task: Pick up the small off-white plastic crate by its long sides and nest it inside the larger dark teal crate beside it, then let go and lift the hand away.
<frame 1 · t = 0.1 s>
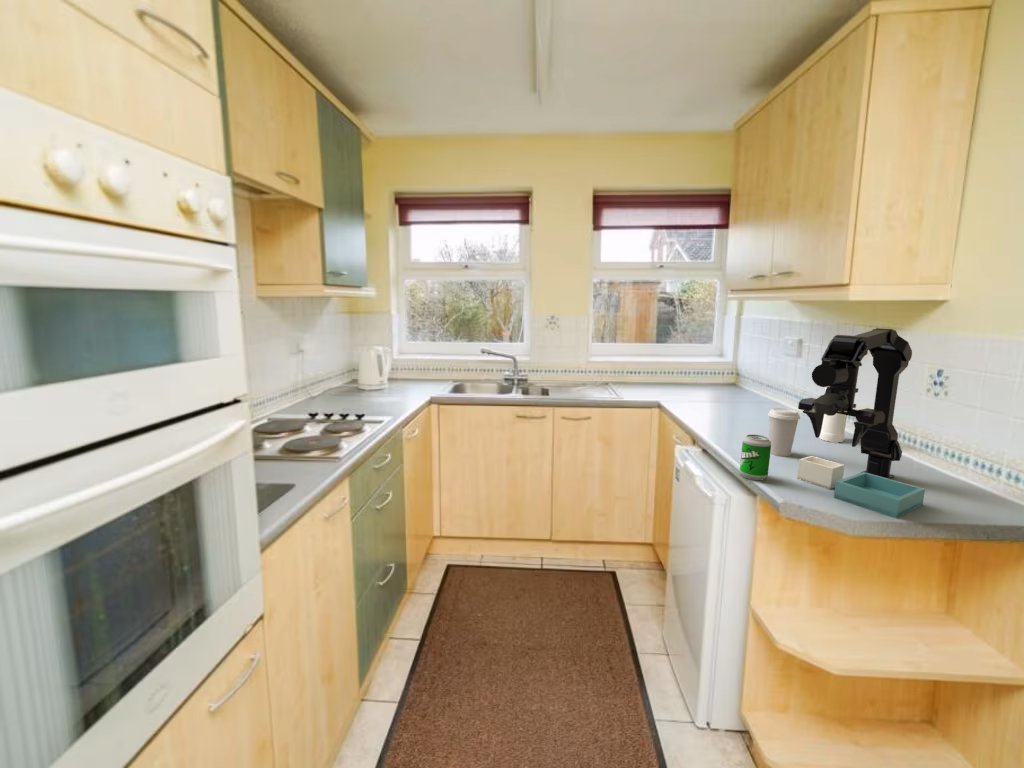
hand: (835, 441, 130), 14 cm above the worktop, tool pointing down, fingers open, 9 cm apart
soda can: (752, 477, 144), on the worktop
big crate: (877, 501, 127), on the worktop
bottle: (830, 440, 184), on the worktop
small crate: (819, 481, 141), on the worktop
coffee cup: (779, 453, 166), on the worktop
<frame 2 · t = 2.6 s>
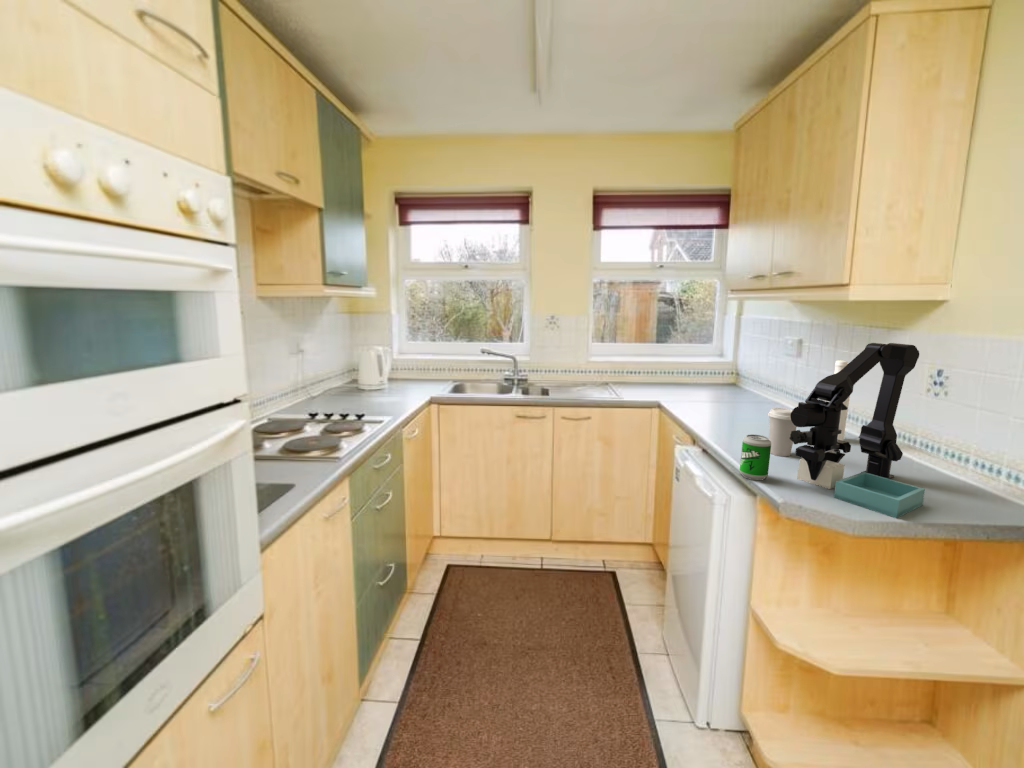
hand: (819, 477, 140), 1 cm above the worktop, tool pointing down, fingers closed on small crate, 6 cm apart
small crate: (819, 481, 141), on the worktop, touching gripper
everything else where it was.
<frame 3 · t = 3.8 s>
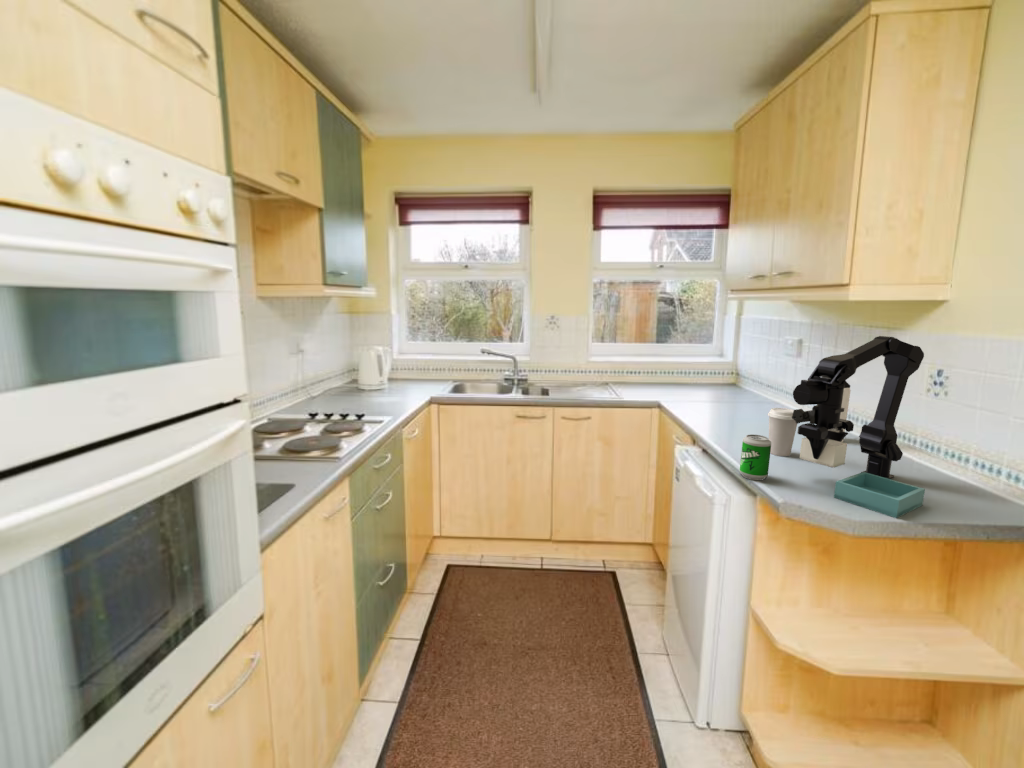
hand: (822, 456, 139), 7 cm above the worktop, tool pointing down, fingers closed on small crate, 6 cm apart
small crate: (821, 461, 139), point 6 cm above the worktop, touching gripper
everything else where it was.
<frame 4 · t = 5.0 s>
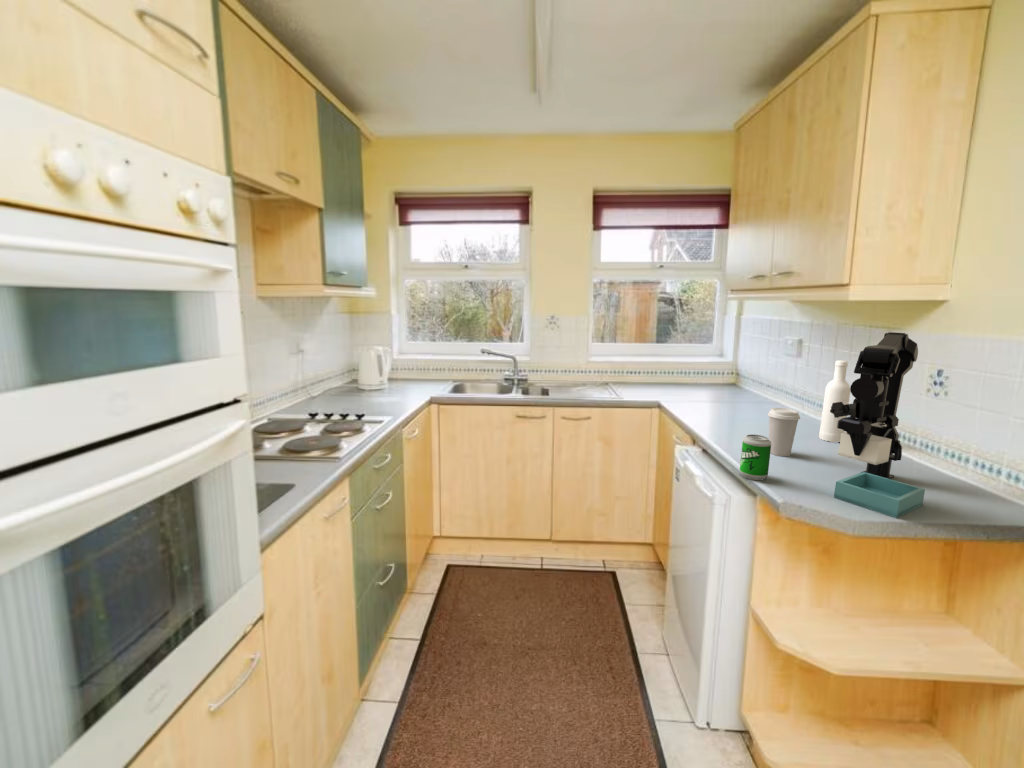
hand: (863, 453, 129), 12 cm above the worktop, tool pointing down, fingers closed on small crate, 6 cm apart
small crate: (862, 458, 130), point 10 cm above the worktop, touching gripper
everything else where it was.
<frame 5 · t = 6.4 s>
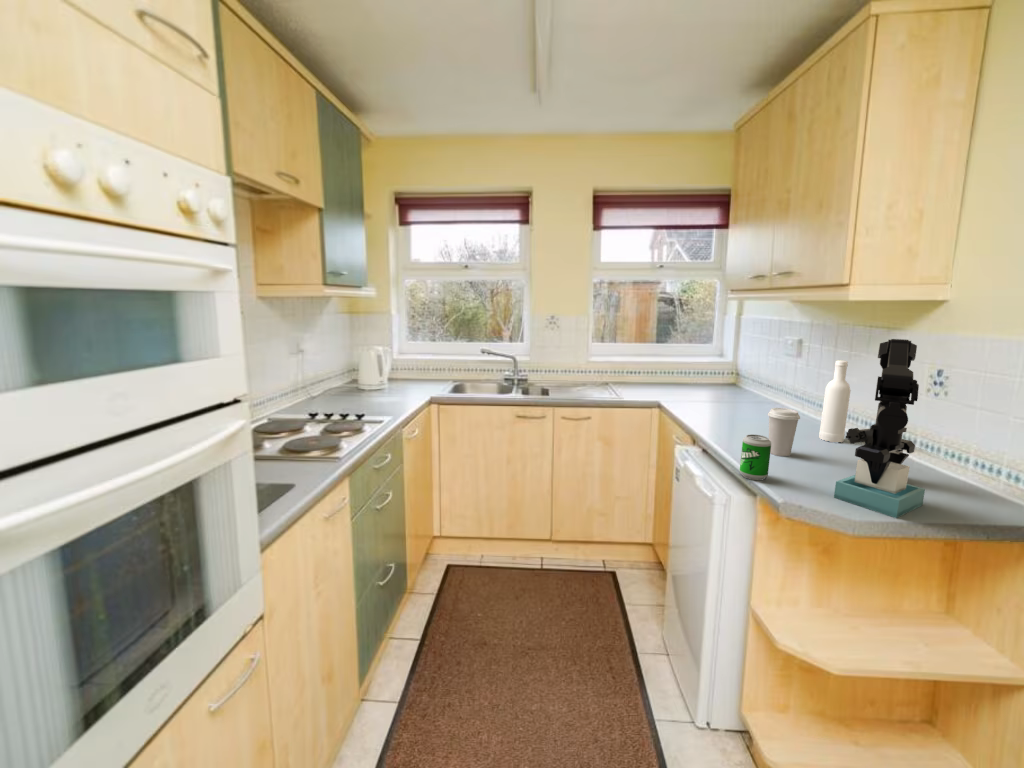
hand: (880, 480, 127), 6 cm above the worktop, tool pointing down, fingers closed on small crate, 6 cm apart
small crate: (879, 485, 127), point 4 cm above the worktop, touching gripper
everything else where it was.
when the fingers open (4 cm above the worktop, at t = 7.7 s): small crate drops 2 cm, resting on big crate.
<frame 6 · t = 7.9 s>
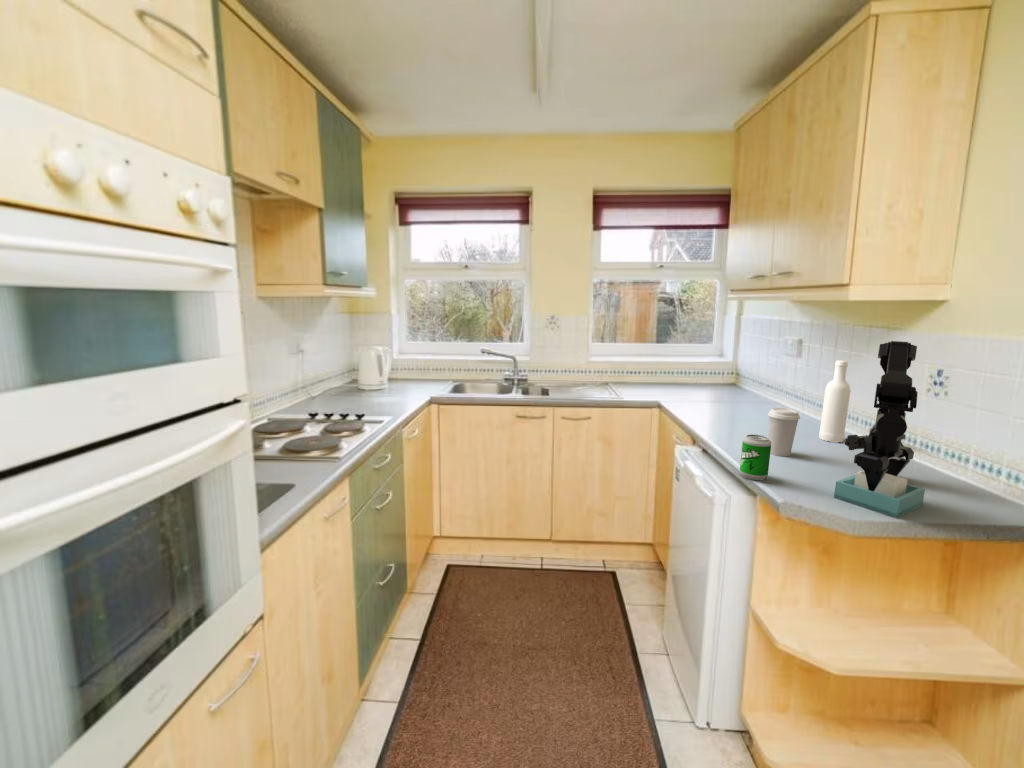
hand: (879, 487, 127), 4 cm above the worktop, tool pointing down, fingers open, 9 cm apart
small crate: (877, 497, 127), point 1 cm above the worktop, touching big crate
everything else where it was.
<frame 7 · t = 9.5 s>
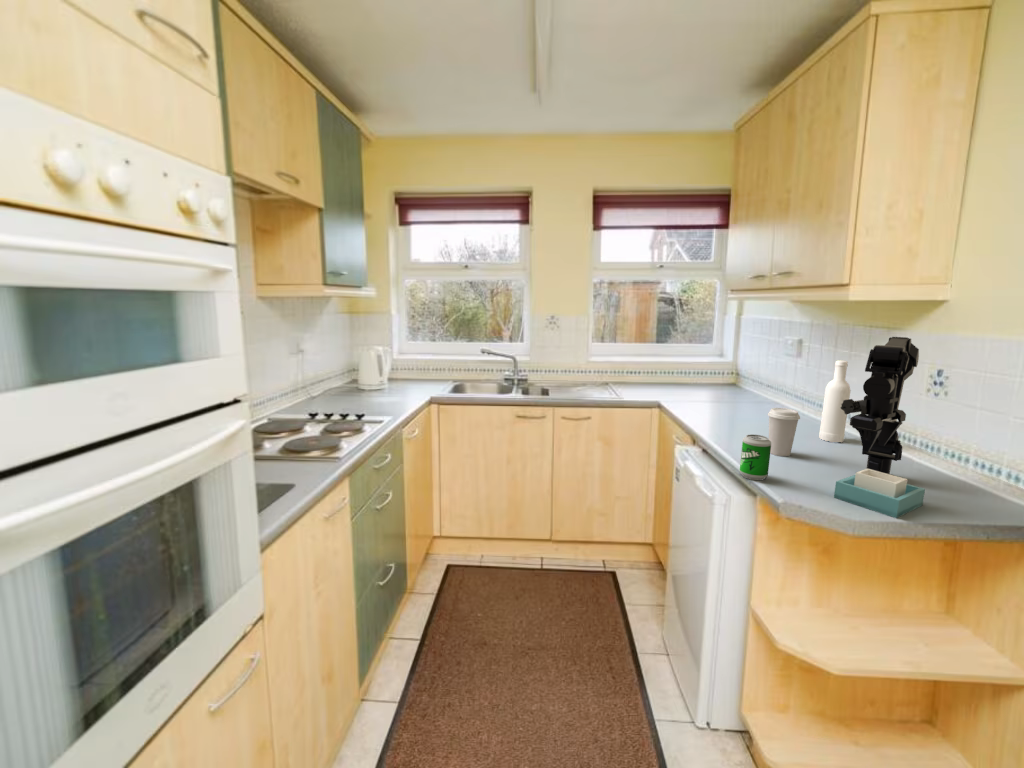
hand: (873, 448, 134), 12 cm above the worktop, tool pointing down, fingers open, 9 cm apart
nothing on the worktop moved.
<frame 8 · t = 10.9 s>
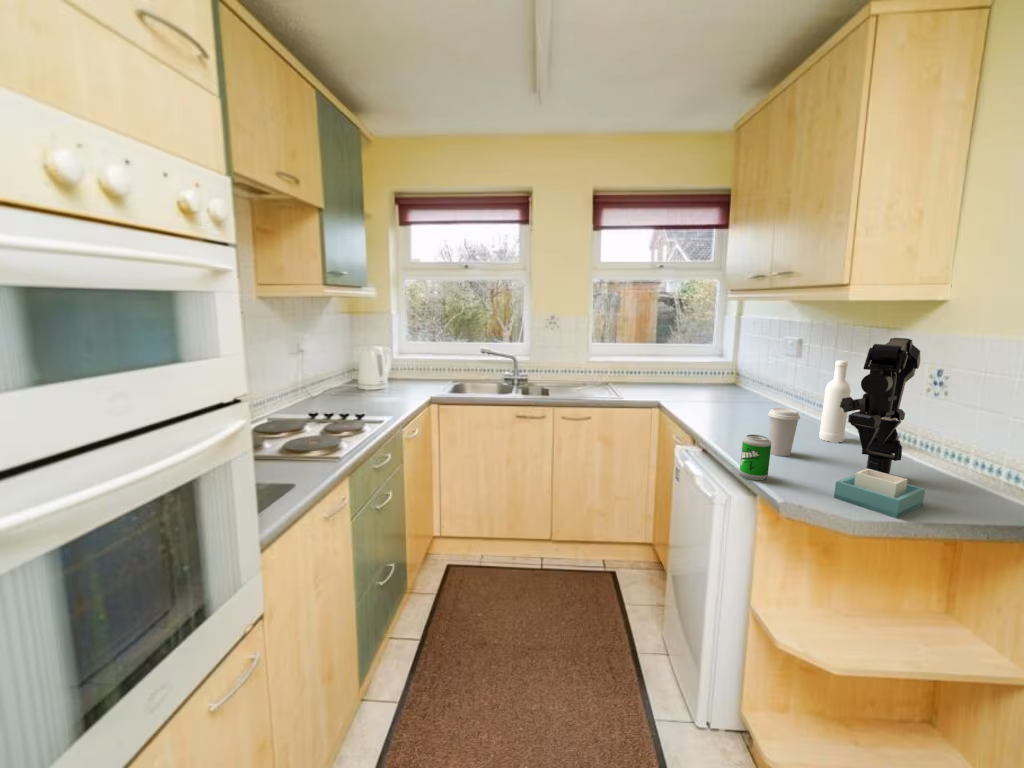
hand: (872, 446, 134), 12 cm above the worktop, tool pointing down, fingers open, 9 cm apart
nothing on the worktop moved.
at the end: small crate 0.0 cm off-centre on the big crate, point 1.0 cm above the big crate's base; small crate tilted 0°; the gripper is holding nothing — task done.
